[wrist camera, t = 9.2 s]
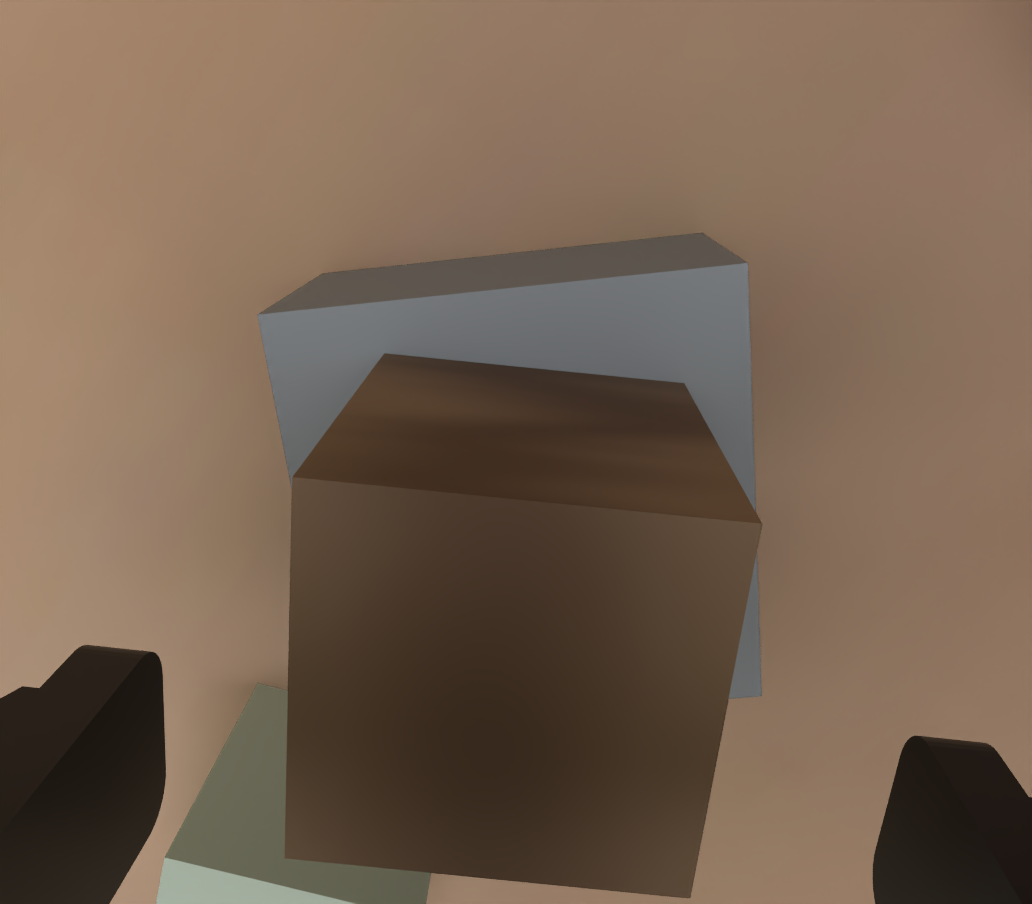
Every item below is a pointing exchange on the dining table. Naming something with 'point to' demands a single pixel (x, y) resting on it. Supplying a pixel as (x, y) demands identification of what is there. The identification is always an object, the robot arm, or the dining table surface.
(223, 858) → the pale green block
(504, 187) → the dining table surface
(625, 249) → the grey base block
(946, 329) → the dining table surface
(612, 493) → the walnut block
